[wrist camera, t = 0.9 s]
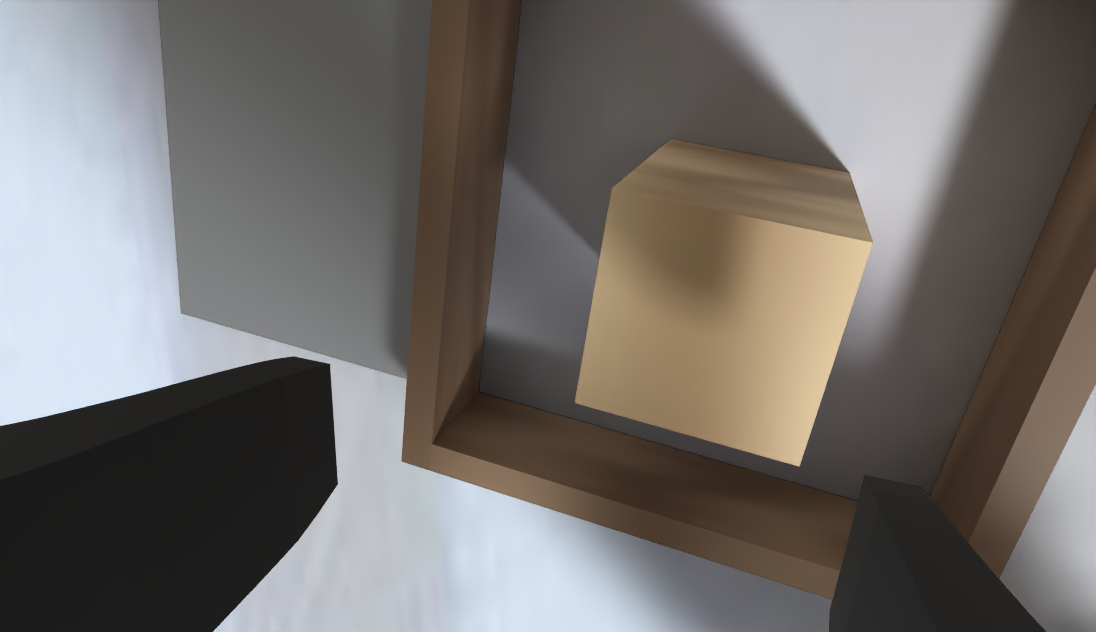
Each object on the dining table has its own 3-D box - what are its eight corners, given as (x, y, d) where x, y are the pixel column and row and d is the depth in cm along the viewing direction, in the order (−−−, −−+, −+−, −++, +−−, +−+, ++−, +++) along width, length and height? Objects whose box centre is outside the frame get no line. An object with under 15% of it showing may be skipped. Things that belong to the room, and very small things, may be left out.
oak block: (849, 172, 16) (872, 242, 11) (800, 335, 18) (799, 466, 12) (670, 138, 17) (611, 188, 12) (639, 296, 19) (574, 402, 13)
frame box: (1210, -40, 13) (1315, -59, 10) (943, 554, 18) (966, 643, 16) (500, -120, 16) (441, -150, 14) (451, 408, 22) (401, 461, 19)
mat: (448, -86, 17) (440, -88, 16) (415, 374, 22) (409, 379, 21) (161, -121, 19) (149, -125, 18) (190, 308, 23) (181, 313, 23)
